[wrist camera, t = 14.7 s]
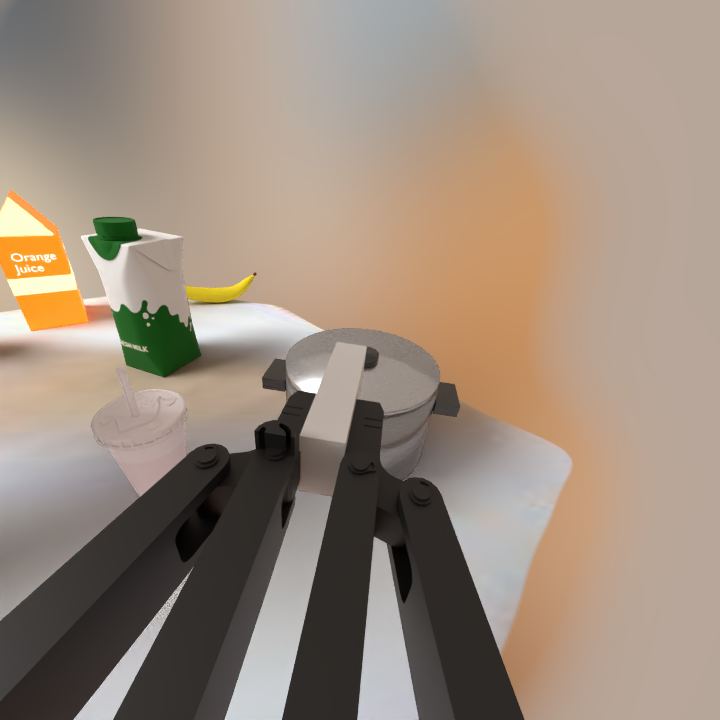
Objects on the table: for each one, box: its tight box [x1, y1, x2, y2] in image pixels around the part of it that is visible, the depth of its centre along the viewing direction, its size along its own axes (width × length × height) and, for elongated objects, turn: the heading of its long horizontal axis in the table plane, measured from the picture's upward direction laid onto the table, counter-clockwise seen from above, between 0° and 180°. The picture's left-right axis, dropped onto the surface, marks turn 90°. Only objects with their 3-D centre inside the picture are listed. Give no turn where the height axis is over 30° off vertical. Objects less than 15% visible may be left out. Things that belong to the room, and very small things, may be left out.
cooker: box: [262, 359, 460, 480], centre depth 36 cm, size 18×21×9 cm
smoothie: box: [91, 367, 188, 497], centre depth 27 cm, size 6×6×14 cm
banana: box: [185, 273, 256, 303], centre depth 68 cm, size 3×19×6 cm, turn 112°
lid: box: [286, 328, 440, 418], centre depth 34 cm, size 16×16×2 cm
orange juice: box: [0, 190, 89, 331], centre depth 53 cm, size 8×9×20 cm
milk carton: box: [81, 217, 201, 377], centre depth 45 cm, size 9×9×20 cm
